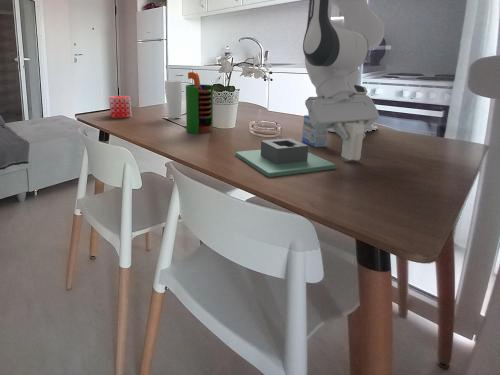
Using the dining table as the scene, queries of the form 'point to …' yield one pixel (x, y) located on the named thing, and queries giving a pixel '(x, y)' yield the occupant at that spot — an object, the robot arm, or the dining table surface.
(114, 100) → the puzzle cube
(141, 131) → the dining table surface
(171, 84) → the drinking glass
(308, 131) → the medicine box
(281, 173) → the socket board
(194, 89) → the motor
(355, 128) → the keyed plug
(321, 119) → the robot arm
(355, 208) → the dining table surface
